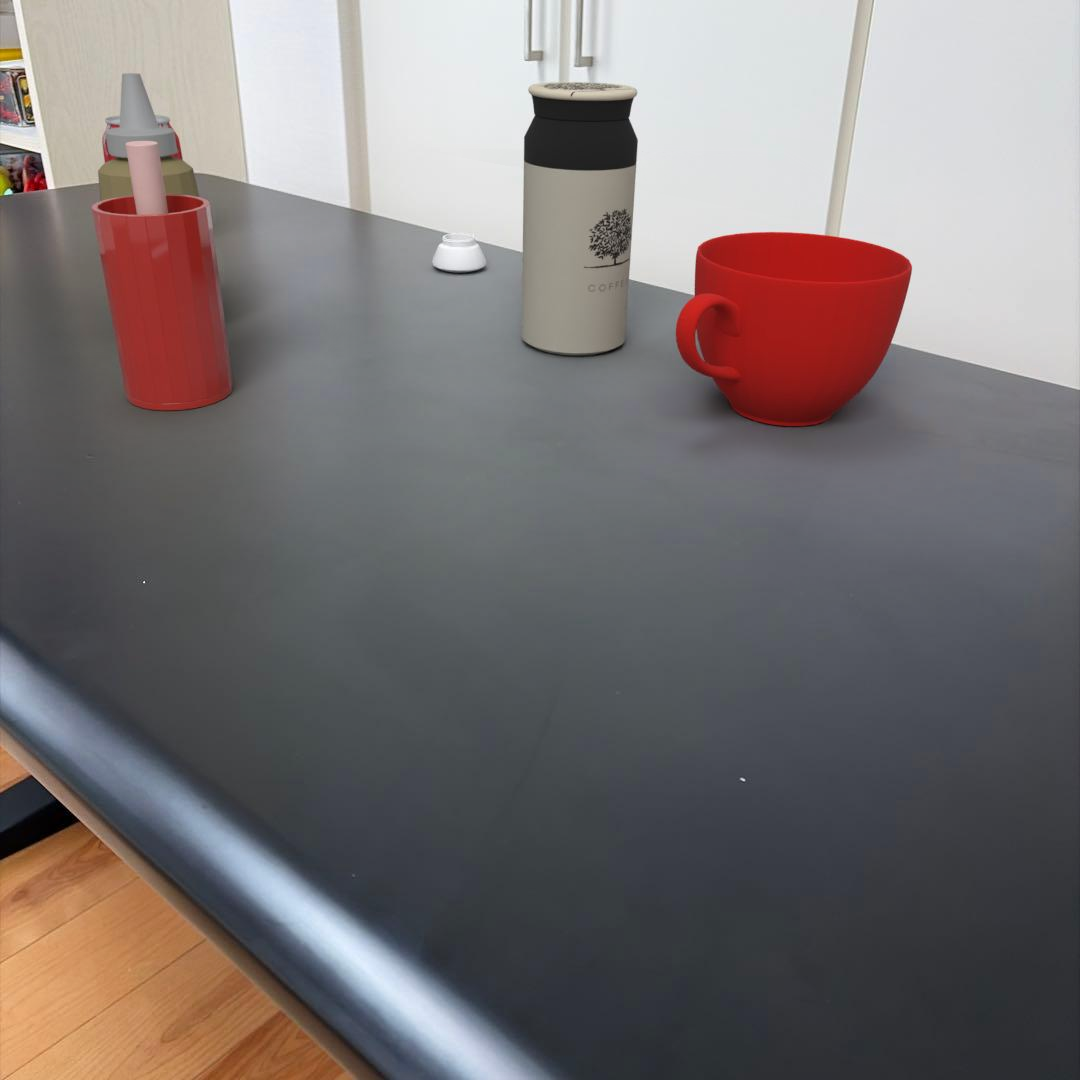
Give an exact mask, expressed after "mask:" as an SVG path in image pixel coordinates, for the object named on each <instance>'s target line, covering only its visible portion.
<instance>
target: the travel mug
mask: <svg viewBox="0 0 1080 1080" xmlns="http://www.w3.org/2000/svg"><path fill="white" fill-rule="evenodd" d="M527 89H528V90H527V91H528V93H529V94H530V95H531V99H532V107H533V115H534V116H533V118H532V120H531V121H530V124H529V126H528V128H527V130H526V132H525V134H524V137H523V189H522V190H523V198H522V204H523V206H522V209H523V210H522V266H521V267H522V269H521V270H522V271H521V273H522V275H521V276H522V277H521V338H522V340H523V341H524V342H525V343H526V344H528V345H529V346H531V347H532V348H534V349H537V350H539V351H541V352H545V353H548V354H555V355H561V356H572V357H576V356H577V357H579V356H594V355H598V354H599V355H600V354H604V353H607V352H610V351H612V350H614V349H616V348H619V347H620V346H621V345H623V344H624V343H625V341H626V335H627V333H626V332H627V317H628V316H627V315H628V304H629V303H628V299H629V286H630V285H629V284H630V269H631V254H632V253H631V252H632V238H633V224H634V223H633V221H634V206H635V192H636V178H637V177H636V174H637V161H638V147H639V146H638V143H639V140H638V137H637V134H636V131H635V129H634V127H633V124H632V122H631V120H630V117H631V112H632V106H633V102H634V99H635V97H637V95H638V90H637V89H636V88H635V87H634V86H630V85H626V84H624V85H623V84H616V83H607V82H591V81H589V82H588V81H551V82H540V83H539V82H538V83H534V84H531V85H530V86H529V87H528V88H527Z"/></svg>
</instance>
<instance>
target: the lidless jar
mask: <svg viewBox="0 0 1080 1080" xmlns="http://www.w3.org/2000/svg"><path fill="white" fill-rule="evenodd" d="M441 240H442V242H440V243H439V244H438V246H437V248H436V250H435V253H434V255H433V257H432V259H431V261H432V263H431V264H432V265H433V267H435V268H437V269H439V270H441V271H444V272H449V273H456V274H461V273H462V274H463V273H464V274H465V273H471V272H475V271H478V270H480V269H483V268H485V266H487V260H486V257H485V255H484V253H483V250H482V248H481V247H480V244H479V243H477V242H476V241H477V240H476V236H475V235H474V234H471V233H465V232H464V233H461V232H456V233H455V232H453V233H447V234H443V236H442V239H441Z"/></svg>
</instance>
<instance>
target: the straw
mask: <svg viewBox="0 0 1080 1080" xmlns="http://www.w3.org/2000/svg"><path fill="white" fill-rule="evenodd" d="M126 150H127V157H128V163H129V169H130V175H131V181H132V187H133V194H134V200H135V206H136V212H137V215H152V214H167V213H168V208H167V201H166V195H165V188H164V181H163V174H162V168H161V161H160V154H159V147H158V143H157V142H154V141H132V142H128V143H126Z"/></svg>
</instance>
